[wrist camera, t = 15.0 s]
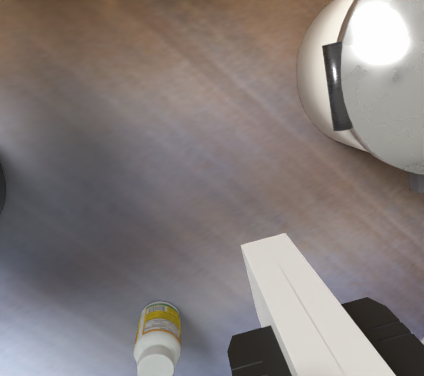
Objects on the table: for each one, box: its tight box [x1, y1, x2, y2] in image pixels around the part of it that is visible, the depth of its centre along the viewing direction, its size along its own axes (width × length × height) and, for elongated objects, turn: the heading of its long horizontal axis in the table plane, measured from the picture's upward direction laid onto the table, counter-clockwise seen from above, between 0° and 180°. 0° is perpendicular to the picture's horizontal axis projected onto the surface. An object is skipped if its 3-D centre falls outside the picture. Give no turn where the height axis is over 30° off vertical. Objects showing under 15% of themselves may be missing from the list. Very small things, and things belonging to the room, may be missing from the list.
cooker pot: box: [296, 0, 424, 193], centre depth 39 cm, size 18×24×12 cm
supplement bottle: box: [134, 301, 181, 376], centre depth 46 cm, size 5×5×10 cm
